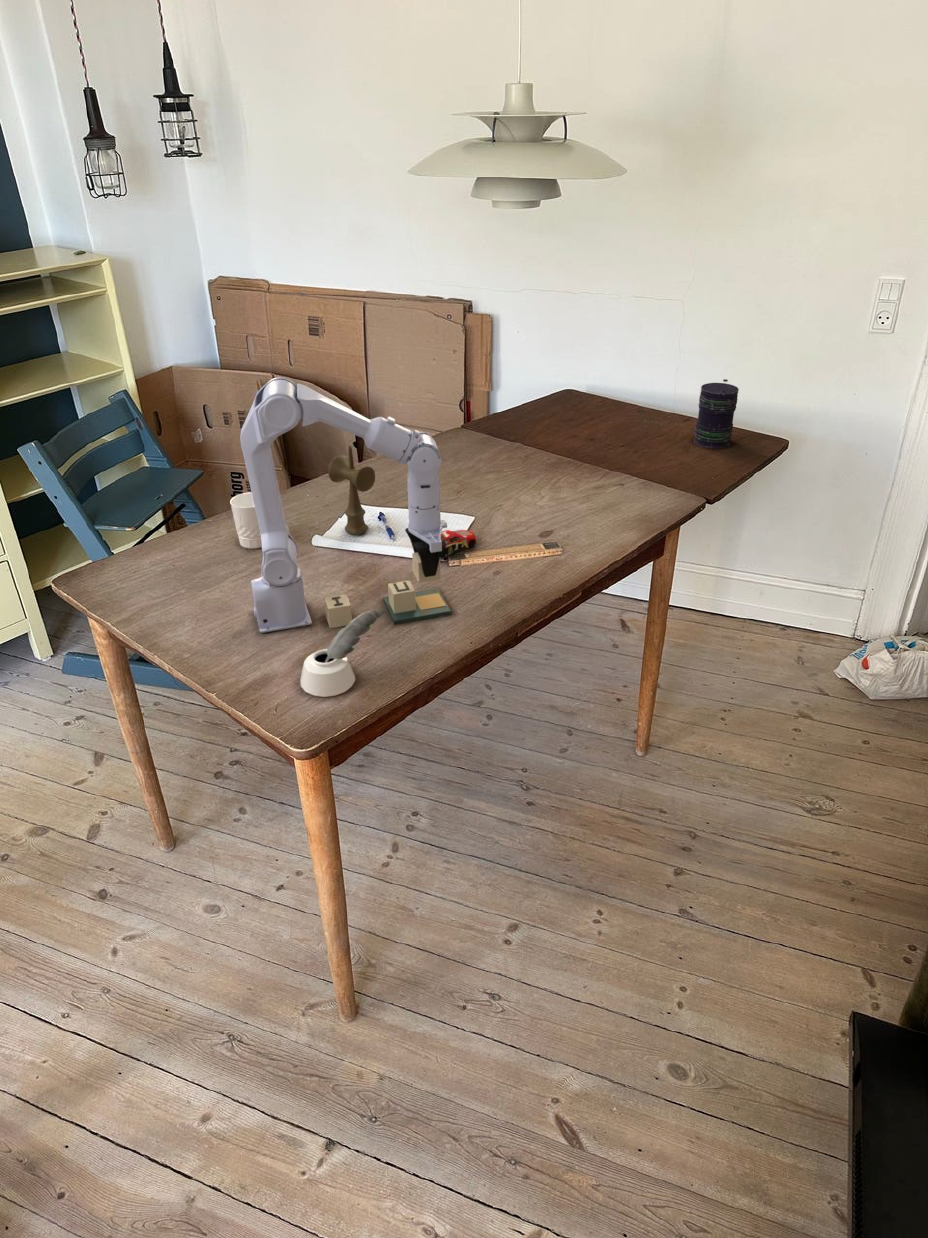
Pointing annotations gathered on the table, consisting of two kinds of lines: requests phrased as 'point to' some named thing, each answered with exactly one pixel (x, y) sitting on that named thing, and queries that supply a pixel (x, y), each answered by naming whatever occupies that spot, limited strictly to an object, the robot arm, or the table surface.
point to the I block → (338, 611)
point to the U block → (402, 596)
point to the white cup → (246, 520)
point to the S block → (419, 572)
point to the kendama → (352, 489)
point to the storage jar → (716, 415)
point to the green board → (421, 607)
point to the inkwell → (336, 659)
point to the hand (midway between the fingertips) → (426, 569)
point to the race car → (457, 541)
